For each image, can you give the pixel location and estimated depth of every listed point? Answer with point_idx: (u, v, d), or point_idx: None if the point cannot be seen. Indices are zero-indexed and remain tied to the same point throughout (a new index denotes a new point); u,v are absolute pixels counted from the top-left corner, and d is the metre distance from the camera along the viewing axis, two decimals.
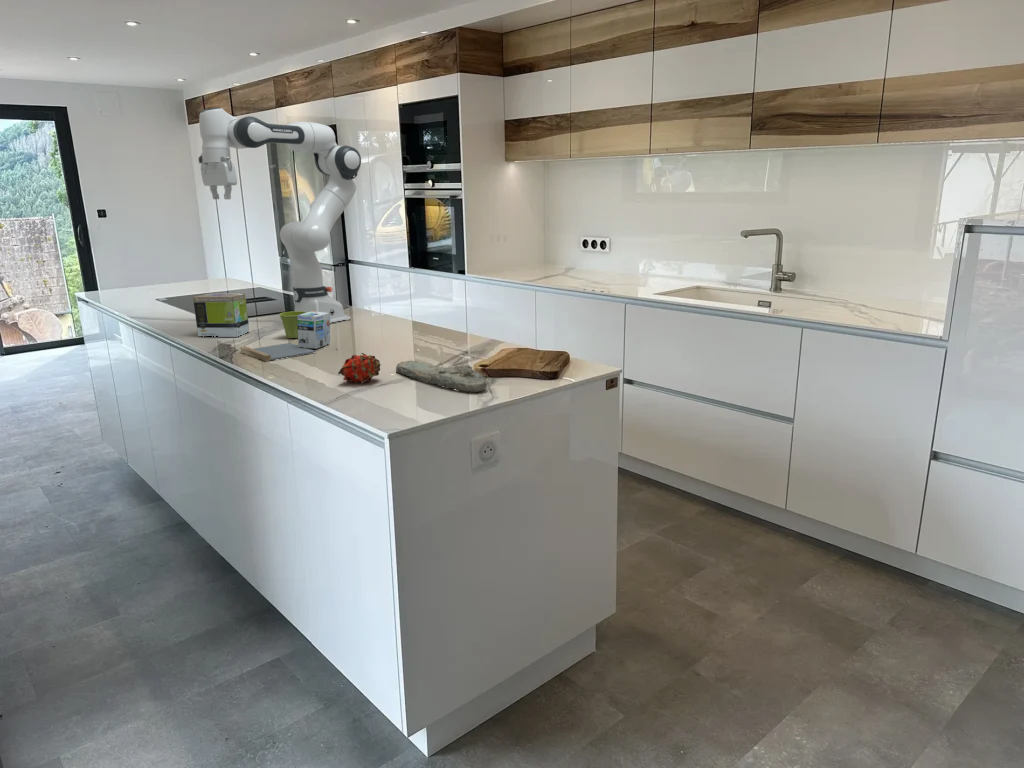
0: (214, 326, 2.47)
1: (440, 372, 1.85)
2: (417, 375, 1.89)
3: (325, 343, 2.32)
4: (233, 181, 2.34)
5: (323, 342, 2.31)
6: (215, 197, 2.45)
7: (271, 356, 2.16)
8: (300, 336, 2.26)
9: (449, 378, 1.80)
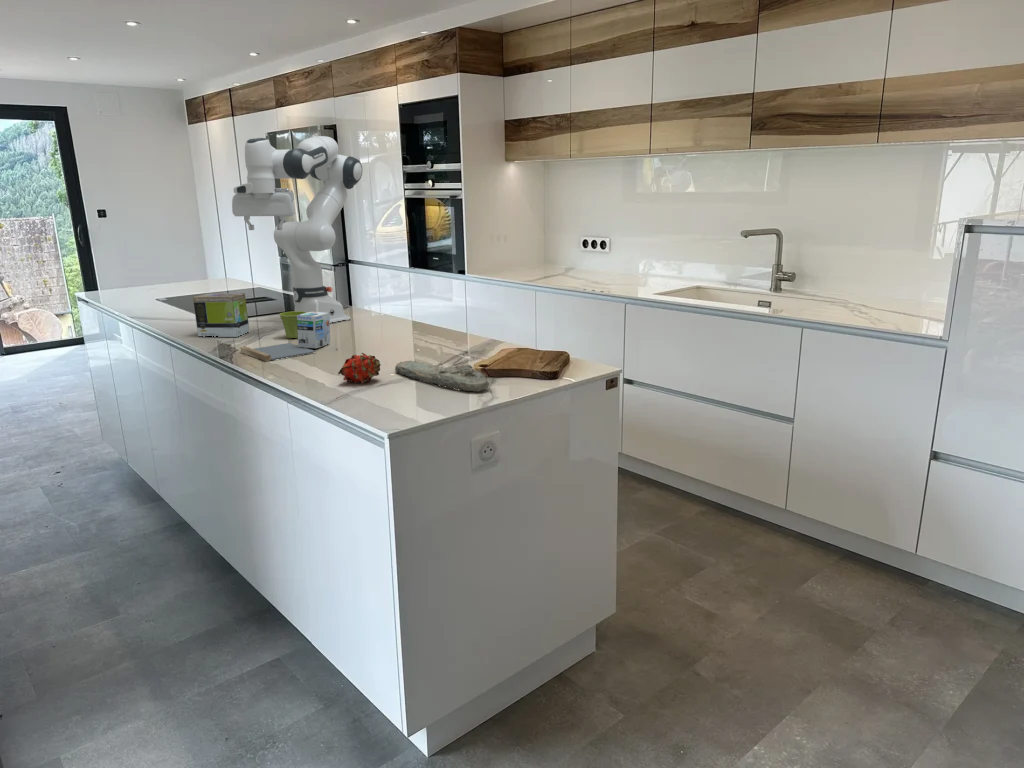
0: (214, 326, 2.47)
1: (441, 372, 1.85)
2: (418, 375, 1.88)
3: (325, 343, 2.32)
4: (294, 212, 2.39)
5: (323, 342, 2.31)
6: (253, 228, 2.38)
7: (271, 356, 2.16)
8: (300, 336, 2.27)
9: (450, 378, 1.80)
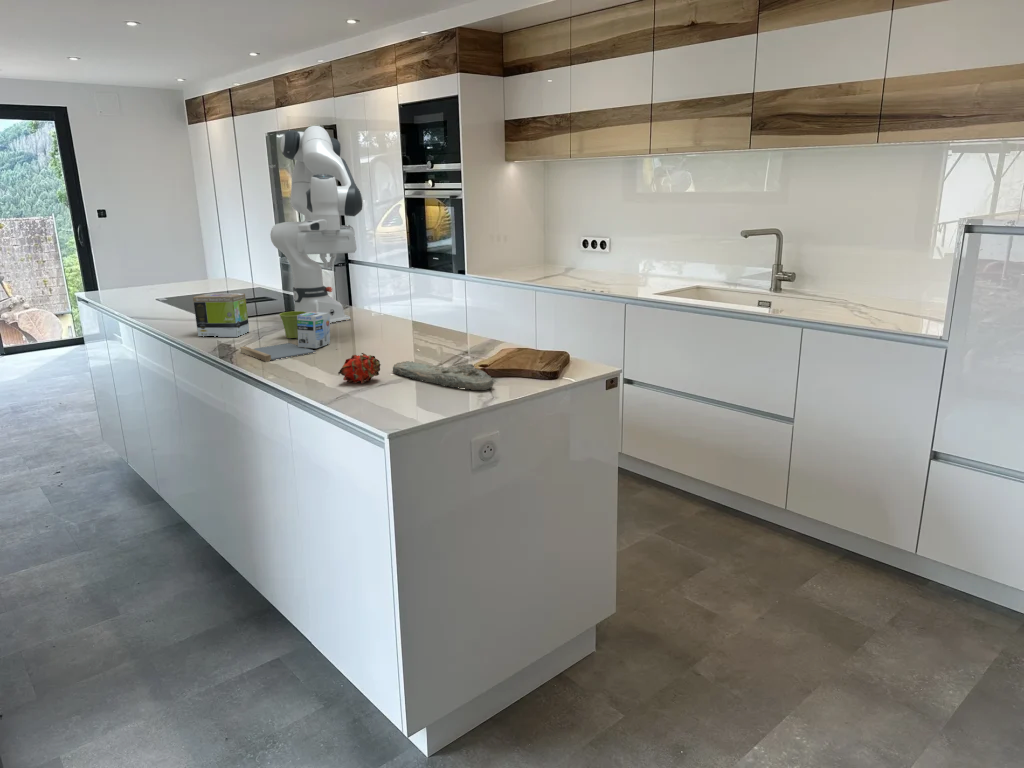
0: (214, 326, 2.47)
1: (443, 372, 1.85)
2: (419, 375, 1.88)
3: (325, 343, 2.32)
4: None
5: (323, 342, 2.31)
6: None
7: (271, 356, 2.16)
8: (300, 336, 2.27)
9: (455, 377, 1.81)
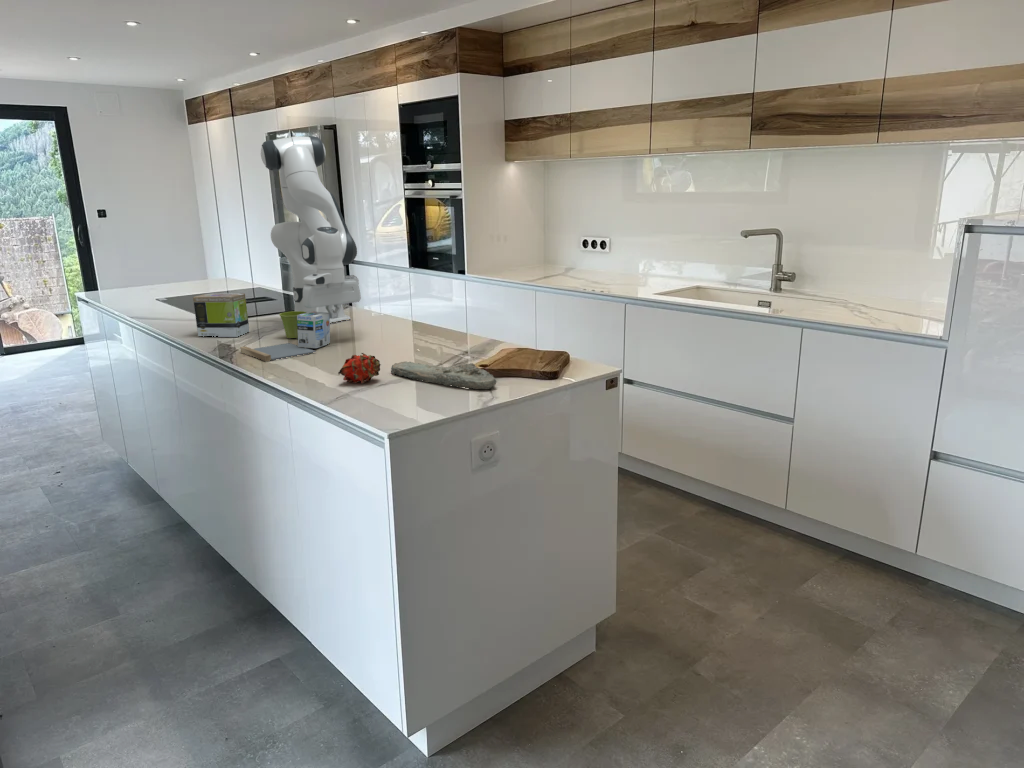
0: (214, 326, 2.47)
1: (445, 371, 1.85)
2: (420, 375, 1.88)
3: (325, 343, 2.32)
4: None
5: (323, 342, 2.31)
6: None
7: (271, 356, 2.16)
8: (300, 336, 2.27)
9: (457, 377, 1.81)
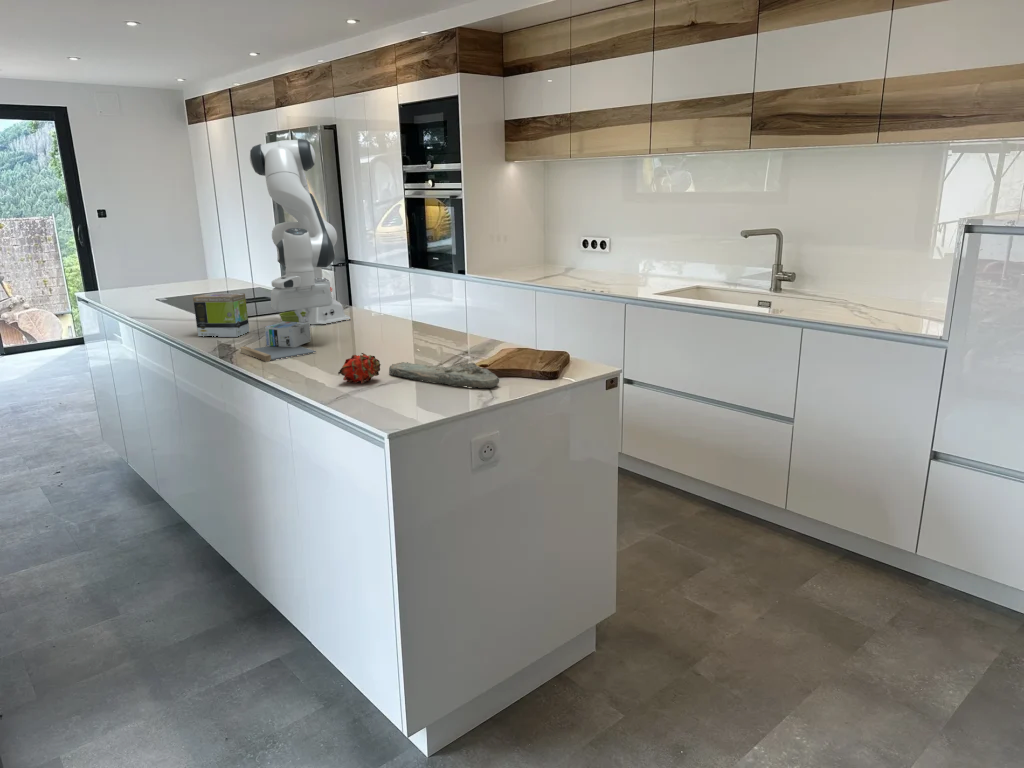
0: (214, 326, 2.47)
1: (447, 371, 1.86)
2: (421, 375, 1.88)
3: (301, 324, 2.32)
4: None
5: (297, 325, 2.30)
6: None
7: (271, 356, 2.16)
8: (284, 344, 2.28)
9: (460, 376, 1.82)
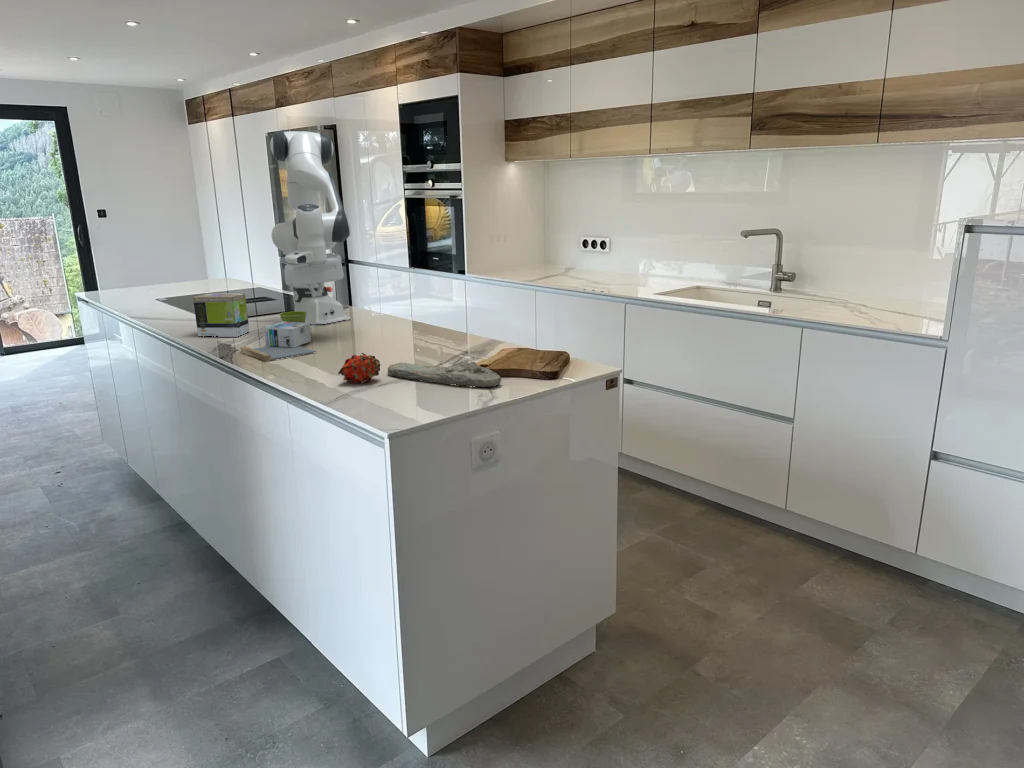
0: (214, 326, 2.47)
1: (448, 371, 1.86)
2: (421, 375, 1.88)
3: (301, 324, 2.32)
4: None
5: (297, 325, 2.30)
6: None
7: (271, 356, 2.16)
8: (284, 344, 2.28)
9: (463, 375, 1.82)
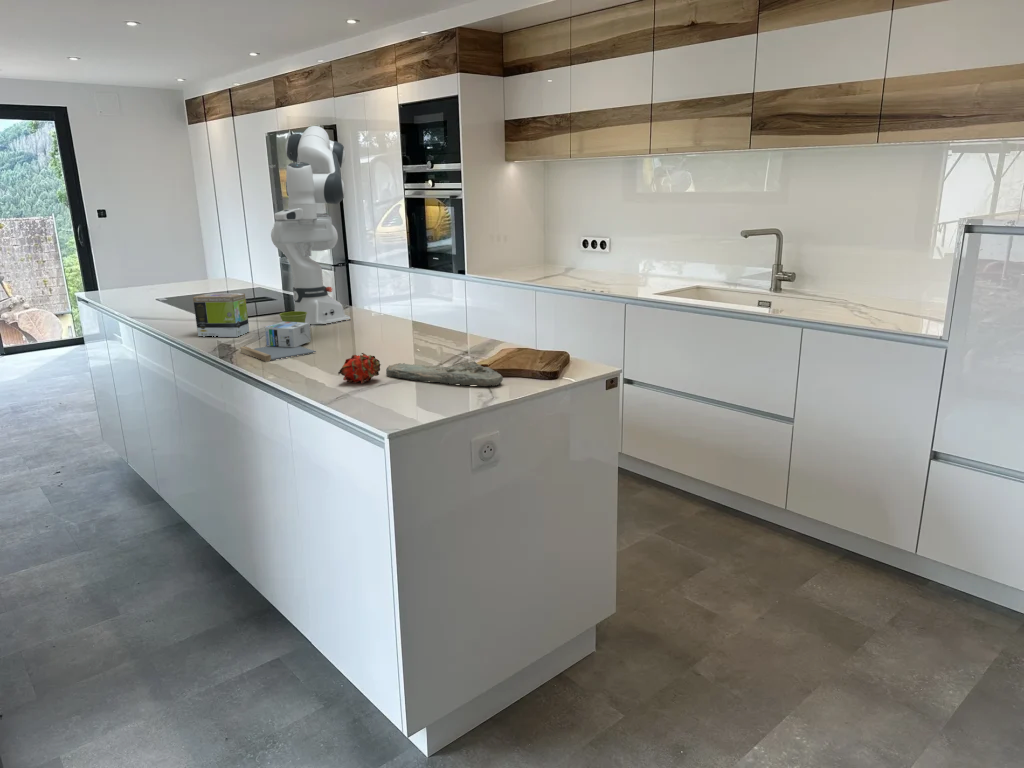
0: (214, 326, 2.47)
1: (449, 370, 1.86)
2: (422, 376, 1.87)
3: (301, 324, 2.32)
4: None
5: (297, 325, 2.30)
6: None
7: (271, 356, 2.16)
8: (284, 344, 2.28)
9: (465, 375, 1.83)
